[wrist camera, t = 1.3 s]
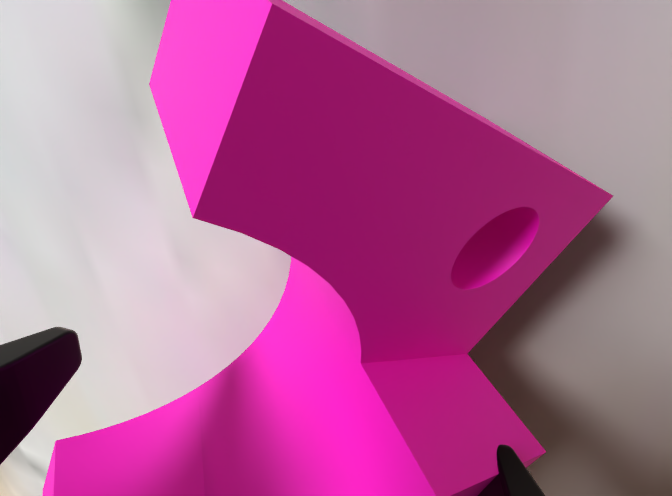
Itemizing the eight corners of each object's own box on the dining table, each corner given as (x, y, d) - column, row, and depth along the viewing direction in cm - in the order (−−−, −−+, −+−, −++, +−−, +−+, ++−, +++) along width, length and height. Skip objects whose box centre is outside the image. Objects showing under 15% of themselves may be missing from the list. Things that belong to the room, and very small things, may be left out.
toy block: (321, 628, 13) (24, 806, 8) (262, 442, 17) (43, 489, 12) (759, 284, 6) (503, 161, 1) (483, 117, 10) (185, -56, 5)
